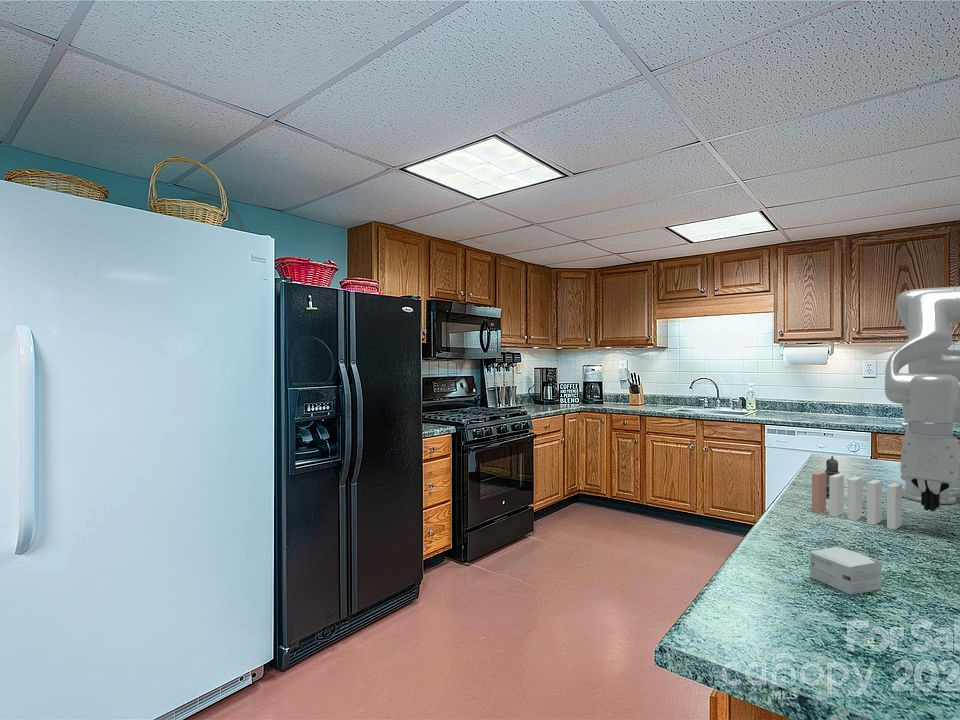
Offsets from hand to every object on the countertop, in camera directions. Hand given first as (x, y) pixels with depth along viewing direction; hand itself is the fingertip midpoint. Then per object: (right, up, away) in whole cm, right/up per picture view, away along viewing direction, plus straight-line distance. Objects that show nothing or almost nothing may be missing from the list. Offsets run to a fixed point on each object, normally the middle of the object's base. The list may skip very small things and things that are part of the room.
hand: (930, 509), depth 119 cm
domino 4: (-4, -6, +5) cm, 9 cm away
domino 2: (-9, -6, +12) cm, 16 cm away
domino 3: (-6, -6, +8) cm, 12 cm away
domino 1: (-11, -6, +15) cm, 19 cm away
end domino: (-14, -6, +18) cm, 23 cm away
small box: (-38, -6, -26) cm, 46 cm away
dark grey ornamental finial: (-1, -6, +31) cm, 32 cm away
